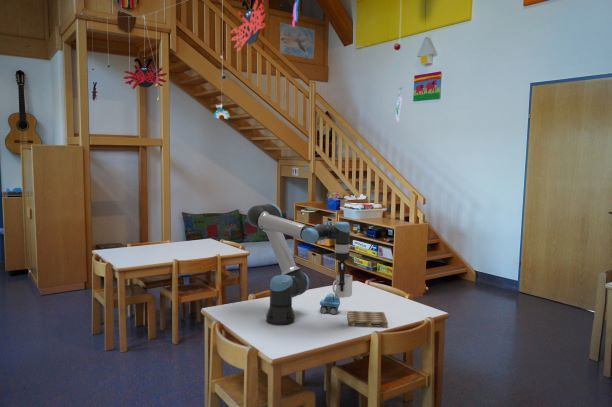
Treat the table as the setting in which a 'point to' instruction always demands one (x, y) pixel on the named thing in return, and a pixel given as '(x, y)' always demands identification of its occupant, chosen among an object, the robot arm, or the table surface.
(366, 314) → the wooden pallet
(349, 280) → the cup
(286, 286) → the robot arm
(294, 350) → the table surface
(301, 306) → the table surface
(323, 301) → the toy excavator
